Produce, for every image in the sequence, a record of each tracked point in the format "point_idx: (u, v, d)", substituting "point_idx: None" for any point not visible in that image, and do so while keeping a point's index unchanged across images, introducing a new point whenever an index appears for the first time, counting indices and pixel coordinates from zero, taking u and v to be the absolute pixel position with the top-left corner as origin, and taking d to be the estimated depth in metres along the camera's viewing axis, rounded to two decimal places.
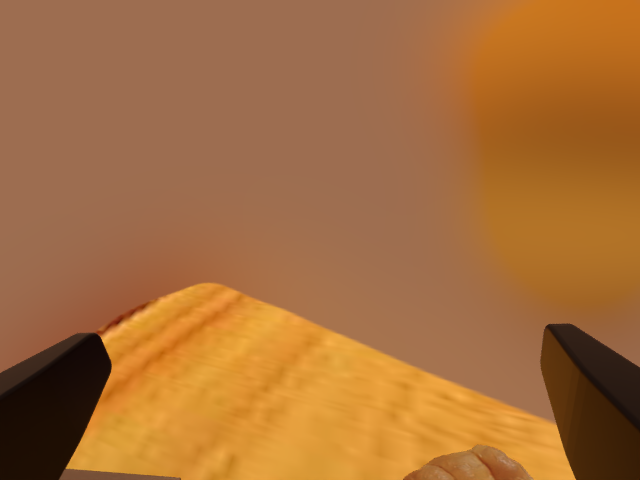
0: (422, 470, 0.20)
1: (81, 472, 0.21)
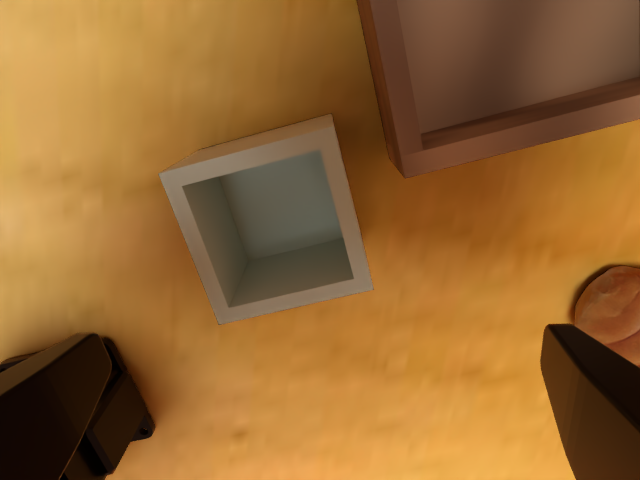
0: None
1: None
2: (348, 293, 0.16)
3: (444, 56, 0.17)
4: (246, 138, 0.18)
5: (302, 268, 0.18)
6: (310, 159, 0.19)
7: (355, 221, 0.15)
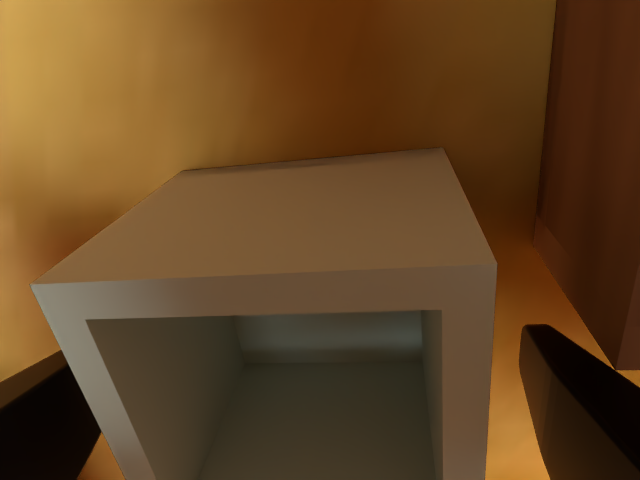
0: None
1: None
2: None
3: None
4: (267, 175, 0.09)
5: (334, 438, 0.09)
6: None
7: (481, 460, 0.06)
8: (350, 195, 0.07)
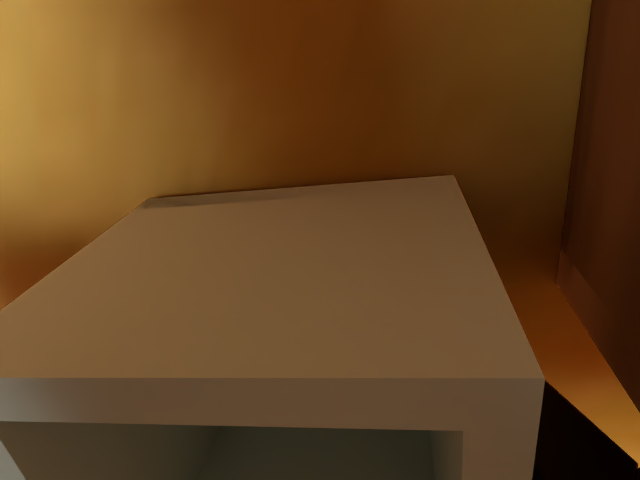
0: None
1: None
2: None
3: None
4: (245, 208, 0.08)
5: None
6: None
7: None
8: (341, 243, 0.06)
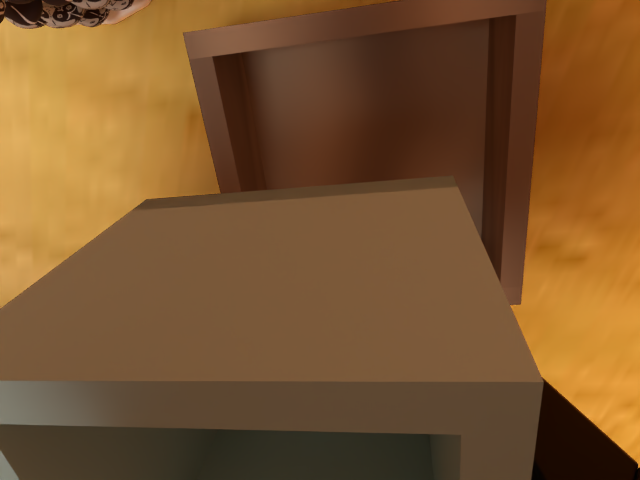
0: None
1: (527, 180, 0.15)
2: None
3: None
4: (243, 209, 0.08)
5: None
6: None
7: None
8: (339, 244, 0.06)
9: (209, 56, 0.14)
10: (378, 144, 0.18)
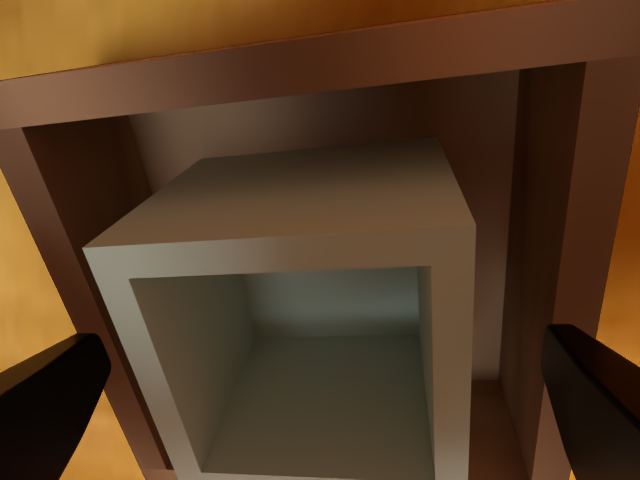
0: None
1: None
2: None
3: None
4: (280, 161, 0.10)
5: (339, 399, 0.10)
6: None
7: (467, 401, 0.07)
8: (354, 176, 0.08)
9: (17, 126, 0.08)
10: None
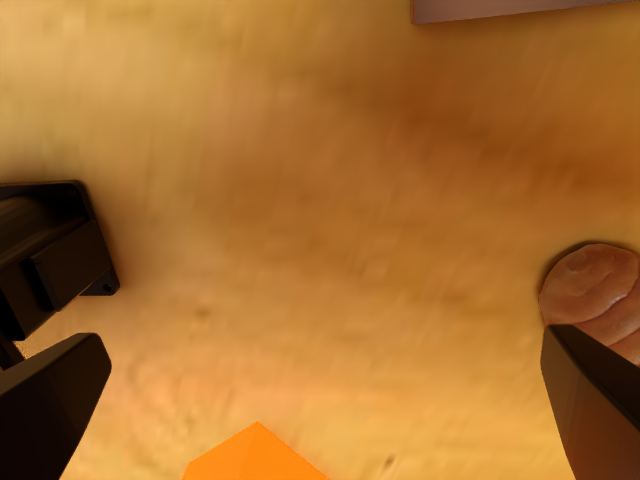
0: None
1: None
2: None
3: None
4: None
5: None
6: None
7: None
8: None
9: None
10: None
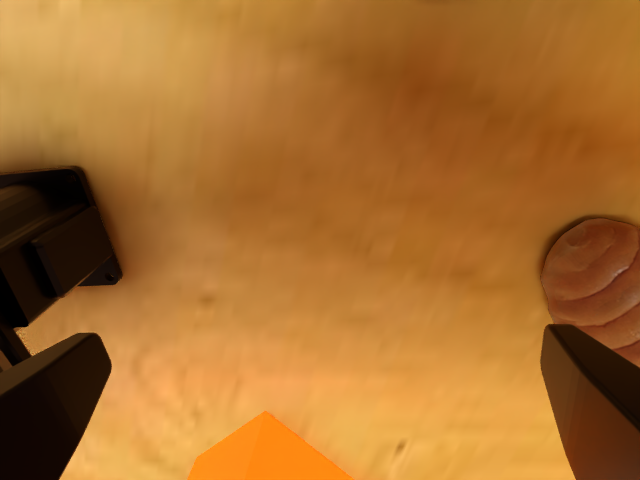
0: None
1: None
2: None
3: None
4: None
5: None
6: None
7: None
8: None
9: None
10: None
